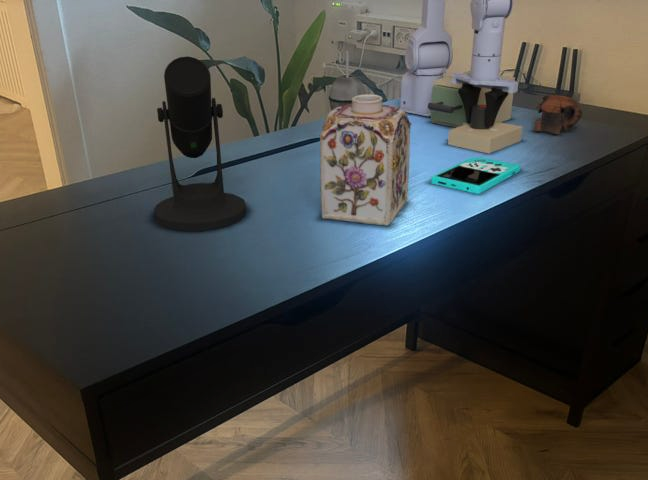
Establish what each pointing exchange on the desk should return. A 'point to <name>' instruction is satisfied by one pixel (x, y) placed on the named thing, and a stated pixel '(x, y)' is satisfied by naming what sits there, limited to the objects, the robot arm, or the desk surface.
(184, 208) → the microphone
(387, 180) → the decorative jar
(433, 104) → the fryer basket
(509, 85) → the robot arm
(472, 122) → the timer dial
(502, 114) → the drawer box
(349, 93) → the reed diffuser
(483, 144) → the block
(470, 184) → the handheld game console
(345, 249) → the desk surface
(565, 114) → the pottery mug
